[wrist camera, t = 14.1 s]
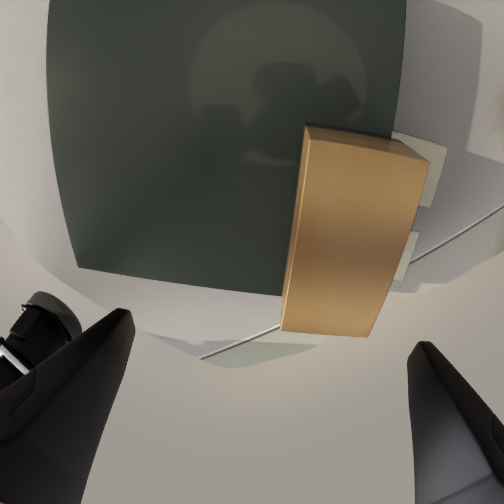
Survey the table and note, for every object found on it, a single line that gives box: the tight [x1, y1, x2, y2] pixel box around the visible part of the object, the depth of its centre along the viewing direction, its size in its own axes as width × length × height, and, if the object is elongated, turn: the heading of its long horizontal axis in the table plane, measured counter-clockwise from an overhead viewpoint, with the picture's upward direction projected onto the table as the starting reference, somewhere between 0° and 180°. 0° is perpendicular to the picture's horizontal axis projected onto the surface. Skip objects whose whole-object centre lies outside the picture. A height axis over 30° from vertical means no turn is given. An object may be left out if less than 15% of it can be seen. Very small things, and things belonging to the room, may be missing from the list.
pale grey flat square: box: [393, 231, 420, 280], centre depth 19 cm, size 4×4×1 cm
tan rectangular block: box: [280, 123, 430, 337], centre depth 15 cm, size 10×5×4 cm, turn 177°
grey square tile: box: [391, 131, 448, 208], centre depth 15 cm, size 4×4×1 cm
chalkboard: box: [46, 0, 406, 296], centre depth 15 cm, size 20×20×2 cm
